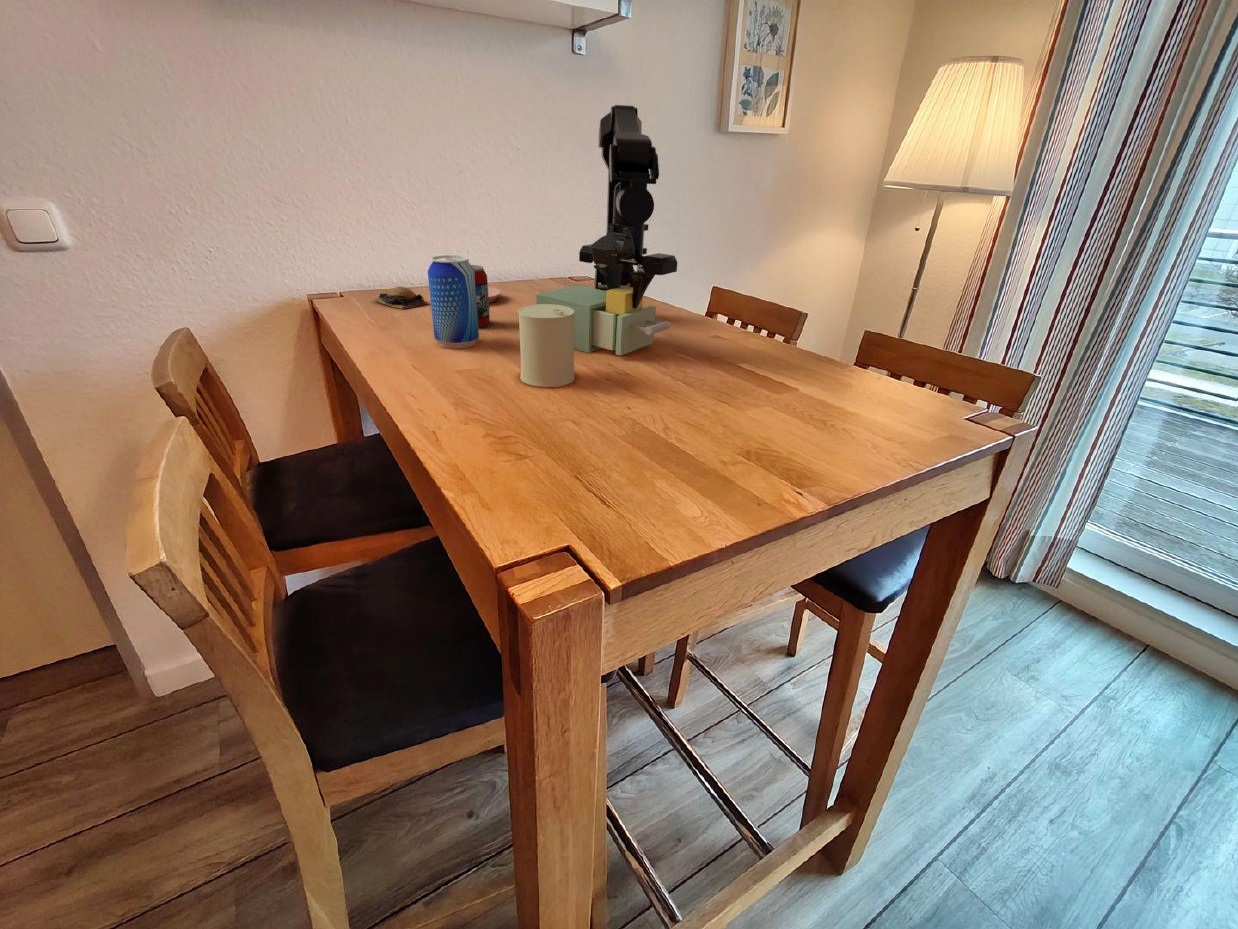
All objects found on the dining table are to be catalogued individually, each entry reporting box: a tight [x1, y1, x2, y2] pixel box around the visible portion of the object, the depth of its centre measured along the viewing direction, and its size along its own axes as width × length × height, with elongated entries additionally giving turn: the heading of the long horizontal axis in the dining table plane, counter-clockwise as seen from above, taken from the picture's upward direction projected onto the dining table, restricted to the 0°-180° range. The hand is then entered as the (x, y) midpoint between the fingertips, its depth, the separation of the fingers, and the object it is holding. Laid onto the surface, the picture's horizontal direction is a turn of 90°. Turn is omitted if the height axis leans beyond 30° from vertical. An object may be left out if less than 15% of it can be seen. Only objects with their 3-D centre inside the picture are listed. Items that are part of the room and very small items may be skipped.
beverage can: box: [470, 264, 491, 328], centre depth 125 cm, size 7×7×12 cm
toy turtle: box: [374, 286, 428, 310], centre depth 140 cm, size 11×8×4 cm
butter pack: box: [606, 286, 644, 315], centre depth 112 cm, size 4×6×4 cm
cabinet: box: [535, 284, 607, 354], centre depth 119 cm, size 14×13×9 cm
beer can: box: [427, 254, 480, 350], centre depth 111 cm, size 8×8×16 cm
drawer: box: [591, 305, 671, 357], centre depth 114 cm, size 17×11×7 cm, turn 54°
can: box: [517, 303, 575, 388], centre depth 97 cm, size 9×9×12 cm
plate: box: [488, 286, 502, 304], centre depth 147 cm, size 14×14×2 cm
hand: (624, 305), depth 112 cm, fingers closed on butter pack, 4 cm apart
